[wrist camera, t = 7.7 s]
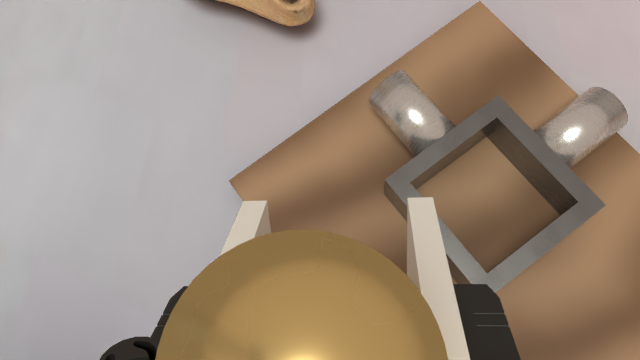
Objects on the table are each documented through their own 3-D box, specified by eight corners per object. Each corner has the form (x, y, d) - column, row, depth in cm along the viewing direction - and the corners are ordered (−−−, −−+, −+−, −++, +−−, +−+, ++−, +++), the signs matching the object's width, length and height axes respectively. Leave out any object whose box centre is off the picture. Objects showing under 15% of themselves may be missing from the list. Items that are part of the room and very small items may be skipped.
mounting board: (232, 185, 35) (228, 180, 34) (477, 9, 37) (479, 0, 36) (477, 527, 28) (481, 534, 27) (762, 286, 30) (775, 284, 29)
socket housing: (335, 135, 34) (332, 116, 32) (494, 20, 36) (504, -8, 33) (475, 305, 30) (485, 300, 28) (647, 168, 32) (674, 150, 29)
